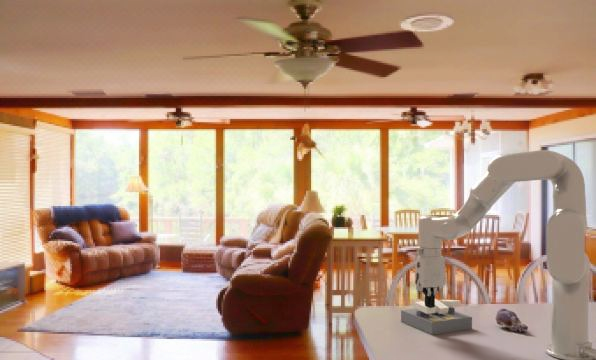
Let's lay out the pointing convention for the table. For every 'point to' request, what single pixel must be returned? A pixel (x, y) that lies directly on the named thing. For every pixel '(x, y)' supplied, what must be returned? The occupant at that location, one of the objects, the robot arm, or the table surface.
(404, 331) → the table surface
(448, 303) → the rocker
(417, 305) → the block
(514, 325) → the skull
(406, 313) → the switch unit
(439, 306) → the rocker
